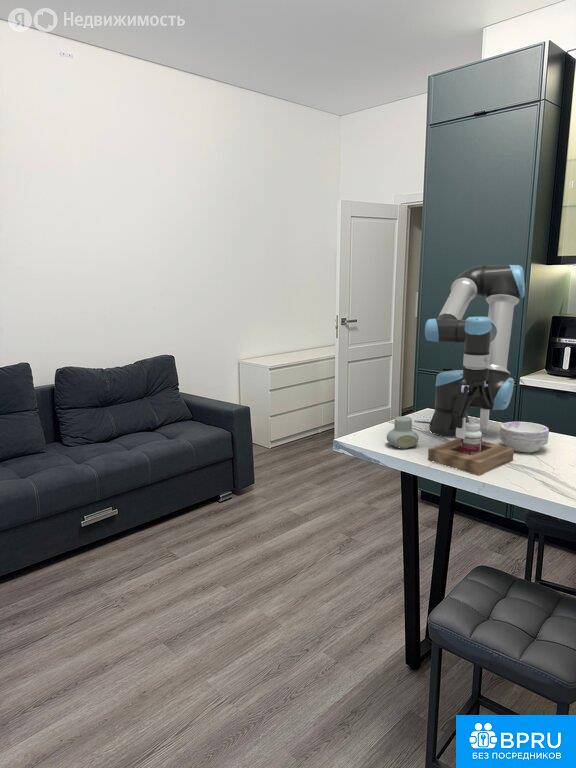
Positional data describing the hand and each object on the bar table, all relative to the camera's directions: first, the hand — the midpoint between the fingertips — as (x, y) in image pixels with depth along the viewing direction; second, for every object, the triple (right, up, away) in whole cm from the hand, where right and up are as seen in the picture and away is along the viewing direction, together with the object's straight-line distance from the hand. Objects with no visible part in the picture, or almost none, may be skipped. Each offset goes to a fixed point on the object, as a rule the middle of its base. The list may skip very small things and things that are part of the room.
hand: (472, 433), depth 174 cm
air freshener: (-19, -6, +17) cm, 26 cm away
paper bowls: (+21, -7, +13) cm, 26 cm away
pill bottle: (0, -8, +1) cm, 8 cm away
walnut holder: (0, -9, +1) cm, 9 cm away
